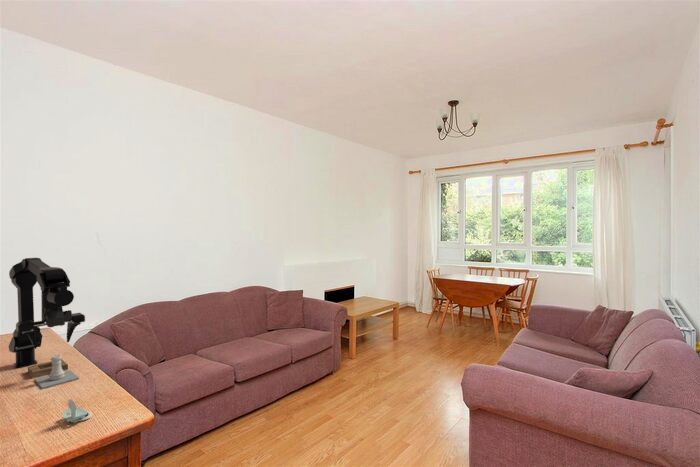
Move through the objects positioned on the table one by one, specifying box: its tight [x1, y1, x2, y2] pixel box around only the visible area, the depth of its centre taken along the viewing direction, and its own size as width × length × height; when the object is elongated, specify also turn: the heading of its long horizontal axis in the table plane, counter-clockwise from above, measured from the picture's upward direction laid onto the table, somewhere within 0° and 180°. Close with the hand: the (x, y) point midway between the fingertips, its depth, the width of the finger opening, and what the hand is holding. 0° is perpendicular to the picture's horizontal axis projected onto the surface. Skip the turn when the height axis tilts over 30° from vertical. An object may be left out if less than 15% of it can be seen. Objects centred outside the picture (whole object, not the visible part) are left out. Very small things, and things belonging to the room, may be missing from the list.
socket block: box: [27, 358, 69, 379], centre depth 132 cm, size 10×10×2 cm
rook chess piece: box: [48, 354, 65, 380], centre depth 124 cm, size 4×4×8 cm
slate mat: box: [34, 369, 80, 390], centre depth 124 cm, size 12×10×1 cm
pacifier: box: [62, 397, 93, 423], centre depth 96 cm, size 7×6×6 cm
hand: (52, 345), depth 127 cm, fingers open, 9 cm apart
